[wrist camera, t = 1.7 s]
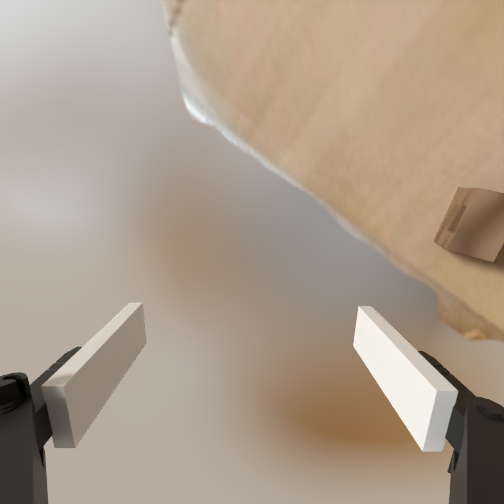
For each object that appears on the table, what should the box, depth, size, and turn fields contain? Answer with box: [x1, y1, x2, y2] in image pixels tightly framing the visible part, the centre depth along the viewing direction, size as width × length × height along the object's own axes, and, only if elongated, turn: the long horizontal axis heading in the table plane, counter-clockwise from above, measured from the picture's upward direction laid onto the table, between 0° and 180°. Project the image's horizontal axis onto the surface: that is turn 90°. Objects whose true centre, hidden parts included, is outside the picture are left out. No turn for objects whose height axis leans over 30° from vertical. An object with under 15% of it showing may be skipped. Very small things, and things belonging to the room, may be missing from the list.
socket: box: [434, 188, 504, 262], centre depth 33 cm, size 5×8×6 cm, turn 168°
